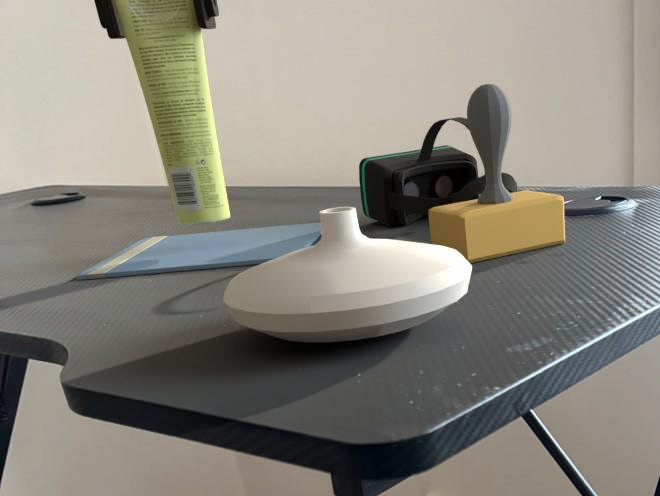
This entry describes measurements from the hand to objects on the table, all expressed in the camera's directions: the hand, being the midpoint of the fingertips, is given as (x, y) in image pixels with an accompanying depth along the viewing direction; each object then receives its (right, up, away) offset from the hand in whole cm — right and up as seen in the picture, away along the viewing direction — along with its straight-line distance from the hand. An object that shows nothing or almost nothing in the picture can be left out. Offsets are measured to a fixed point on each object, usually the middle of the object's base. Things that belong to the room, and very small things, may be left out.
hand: (163, 31), depth 80 cm
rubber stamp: (+29, -20, -2) cm, 35 cm away
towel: (+2, -15, +10) cm, 18 cm away
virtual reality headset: (+25, -12, +11) cm, 29 cm away
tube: (+1, -13, +8) cm, 15 cm away
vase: (+19, -33, -20) cm, 43 cm away
